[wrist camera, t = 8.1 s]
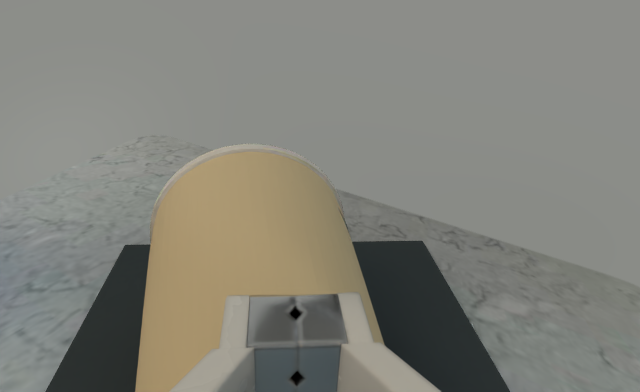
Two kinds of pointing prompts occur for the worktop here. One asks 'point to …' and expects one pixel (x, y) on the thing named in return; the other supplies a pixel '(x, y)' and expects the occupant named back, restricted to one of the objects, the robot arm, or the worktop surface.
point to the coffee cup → (237, 250)
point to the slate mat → (385, 294)
